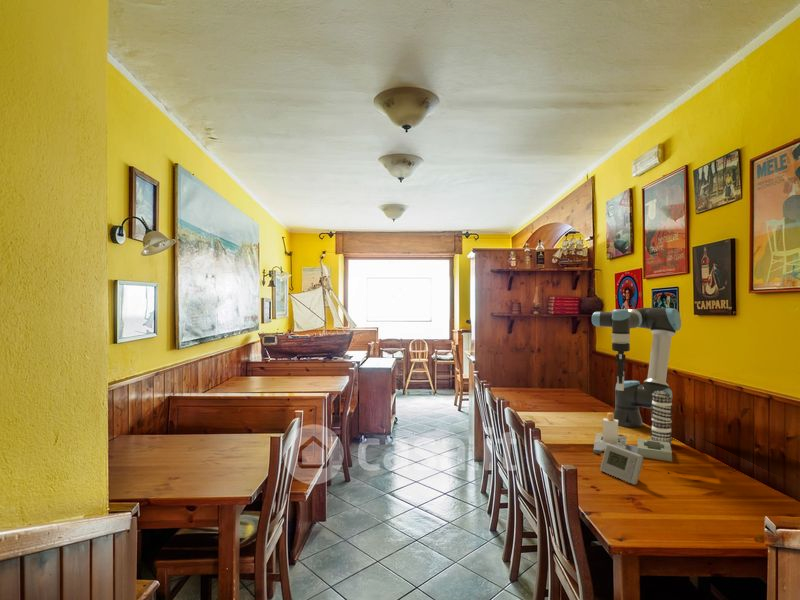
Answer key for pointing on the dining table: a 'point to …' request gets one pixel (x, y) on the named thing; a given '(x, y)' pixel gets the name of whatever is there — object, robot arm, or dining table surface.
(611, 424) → the plug
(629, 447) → the board
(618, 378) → the robot arm
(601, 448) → the socket
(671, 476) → the dining table surface
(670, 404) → the decorative candle
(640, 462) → the digital clock
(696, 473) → the dining table surface
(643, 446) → the grey-green cross cutout frame
